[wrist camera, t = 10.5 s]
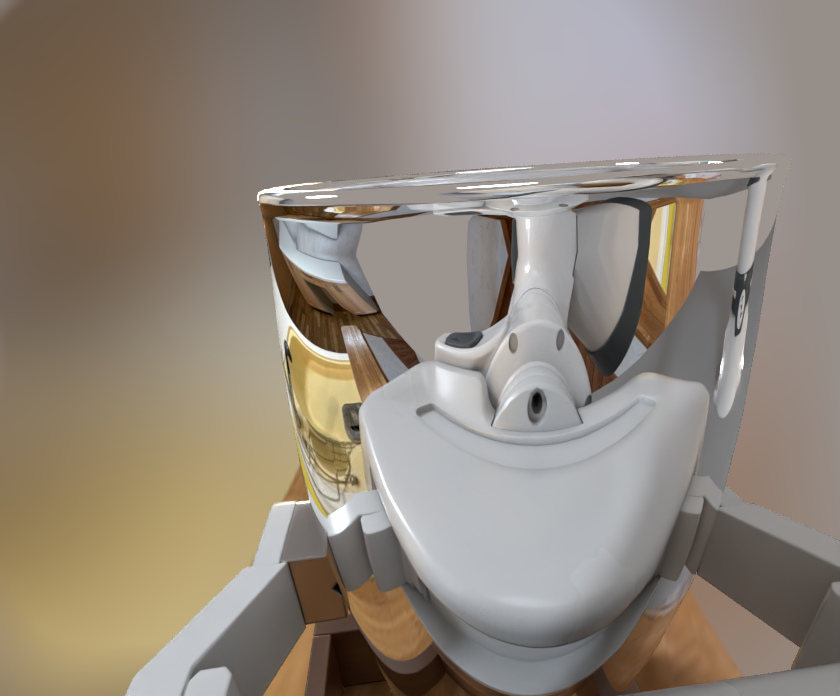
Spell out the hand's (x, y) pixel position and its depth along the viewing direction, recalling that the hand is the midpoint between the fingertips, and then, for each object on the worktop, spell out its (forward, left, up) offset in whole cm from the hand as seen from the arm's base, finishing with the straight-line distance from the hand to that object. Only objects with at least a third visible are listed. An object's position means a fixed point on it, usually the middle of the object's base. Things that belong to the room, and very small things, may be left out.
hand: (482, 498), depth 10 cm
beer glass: (0, +1, -8) cm, 8 cm away
